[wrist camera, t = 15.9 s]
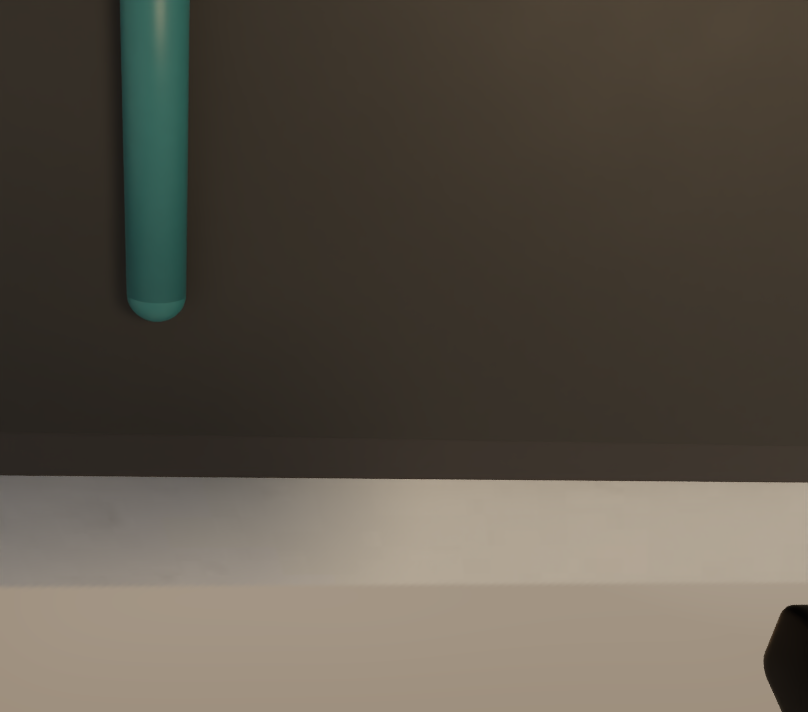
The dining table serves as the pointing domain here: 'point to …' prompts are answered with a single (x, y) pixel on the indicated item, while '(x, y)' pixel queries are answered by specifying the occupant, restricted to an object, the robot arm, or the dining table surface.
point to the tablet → (418, 244)
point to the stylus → (155, 153)
